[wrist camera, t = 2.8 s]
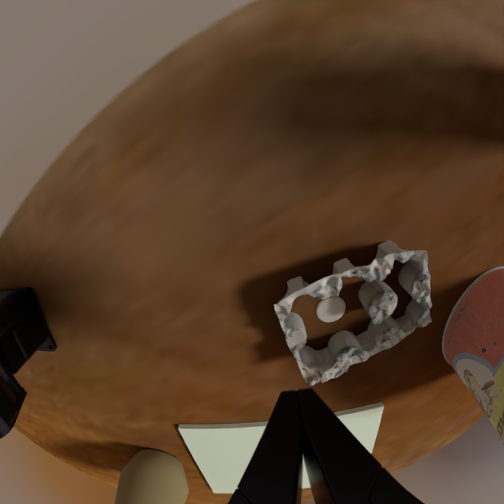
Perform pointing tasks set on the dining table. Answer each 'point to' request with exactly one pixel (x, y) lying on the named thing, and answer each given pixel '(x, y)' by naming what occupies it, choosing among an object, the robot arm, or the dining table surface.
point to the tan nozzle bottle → (152, 480)
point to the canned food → (480, 343)
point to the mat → (247, 438)
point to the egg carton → (374, 301)
